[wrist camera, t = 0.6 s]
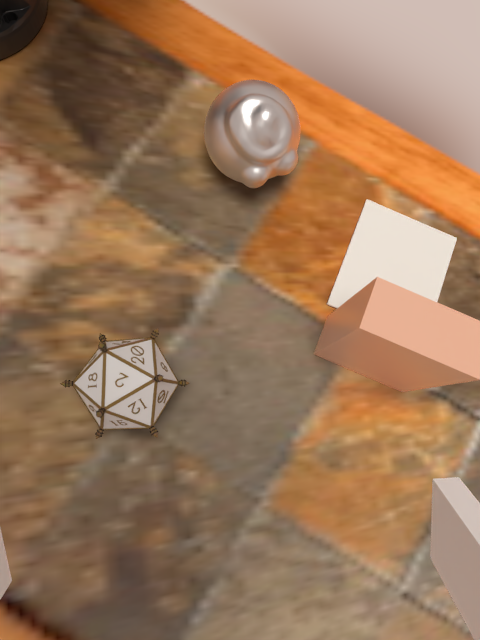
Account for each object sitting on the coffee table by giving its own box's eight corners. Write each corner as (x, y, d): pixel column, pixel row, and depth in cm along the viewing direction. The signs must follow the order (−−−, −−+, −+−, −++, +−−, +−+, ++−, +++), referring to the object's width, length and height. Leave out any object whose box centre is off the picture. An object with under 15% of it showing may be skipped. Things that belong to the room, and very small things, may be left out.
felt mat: (365, 200, 47) (366, 199, 47) (455, 239, 47) (456, 238, 47) (326, 304, 44) (327, 303, 44) (422, 345, 44) (423, 344, 44)
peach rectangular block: (327, 316, 44) (377, 276, 32) (414, 353, 44) (494, 327, 32) (313, 354, 43) (359, 327, 31) (401, 392, 43) (480, 379, 31)
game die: (121, 378, 44) (70, 304, 37) (205, 373, 42) (167, 294, 35) (90, 465, 38) (22, 397, 31) (186, 465, 36) (137, 391, 29)
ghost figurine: (192, 194, 45) (192, 131, 35) (213, 113, 47) (219, 33, 38) (281, 216, 46) (305, 159, 36) (298, 134, 48) (325, 61, 38)
